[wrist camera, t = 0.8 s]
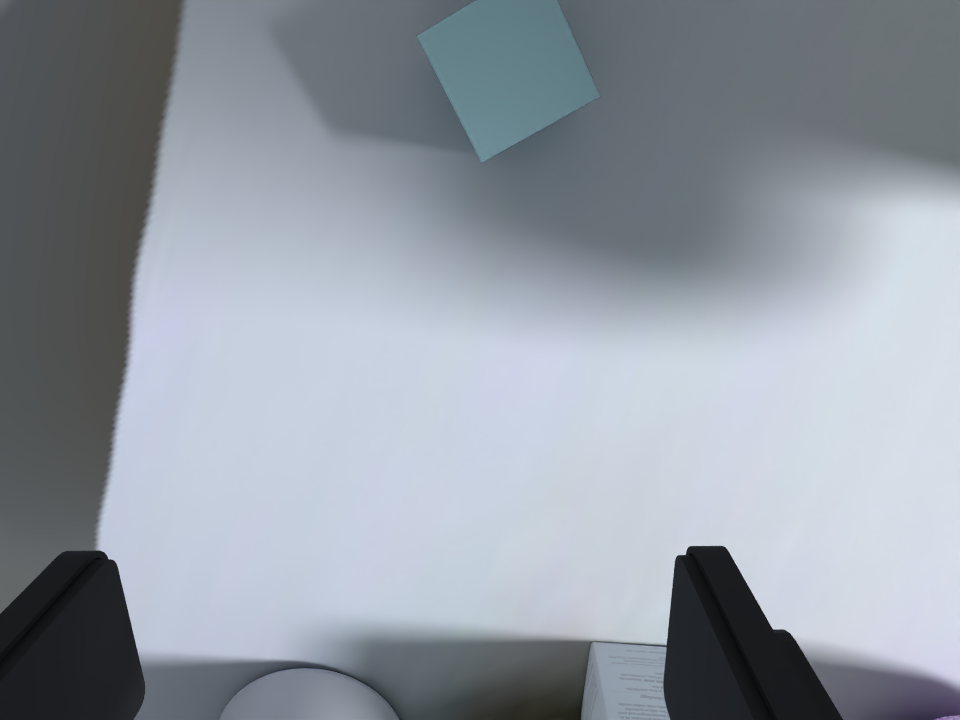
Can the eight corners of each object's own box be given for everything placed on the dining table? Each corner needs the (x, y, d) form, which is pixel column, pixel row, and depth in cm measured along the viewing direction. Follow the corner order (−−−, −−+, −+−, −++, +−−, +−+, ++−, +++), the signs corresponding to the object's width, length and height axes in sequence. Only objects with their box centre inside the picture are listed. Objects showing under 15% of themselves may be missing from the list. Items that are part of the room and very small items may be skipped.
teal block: (528, -4, 30) (540, -39, 23) (576, 102, 31) (600, 96, 25) (431, 54, 31) (416, 35, 24) (482, 154, 32) (481, 162, 26)
